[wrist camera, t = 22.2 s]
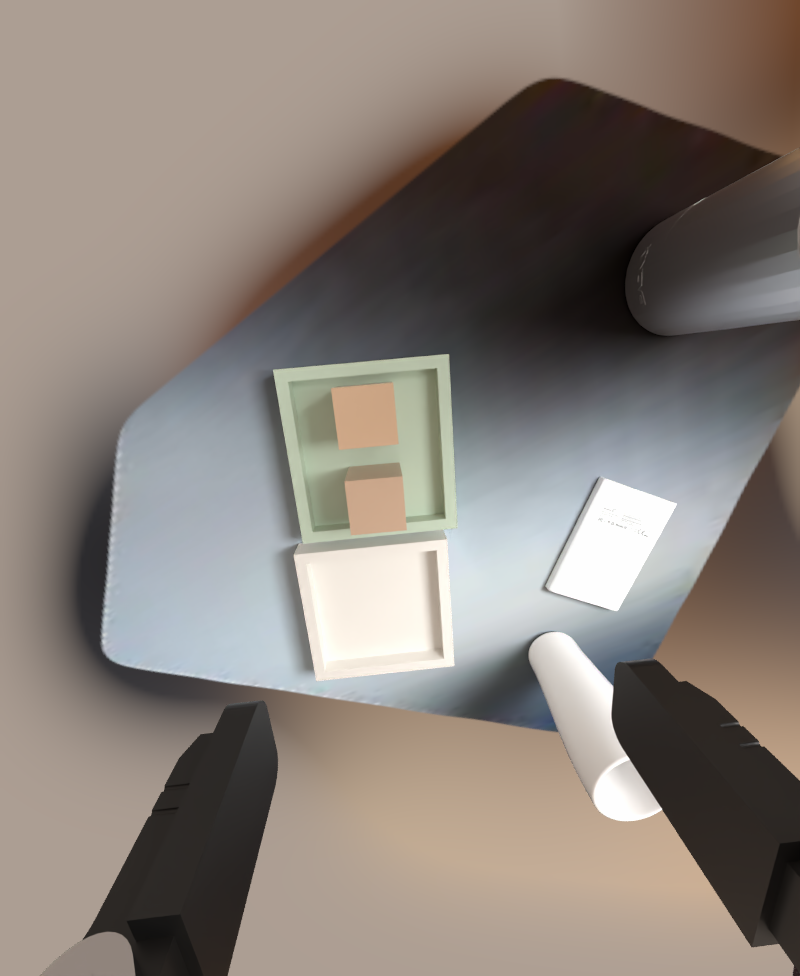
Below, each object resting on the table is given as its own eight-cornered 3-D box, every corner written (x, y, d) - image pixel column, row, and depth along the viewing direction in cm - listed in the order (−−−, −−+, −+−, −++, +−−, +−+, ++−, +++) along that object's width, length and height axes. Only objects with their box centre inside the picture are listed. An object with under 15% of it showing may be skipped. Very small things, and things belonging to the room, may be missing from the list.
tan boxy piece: (391, 381, 33) (393, 382, 28) (396, 434, 34) (398, 444, 29) (337, 386, 33) (330, 388, 28) (344, 439, 34) (339, 449, 29)
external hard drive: (542, 582, 41) (596, 474, 38) (610, 603, 42) (668, 500, 39) (548, 591, 40) (605, 478, 36) (618, 612, 41) (680, 505, 38)
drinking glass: (518, 677, 44) (587, 826, 29) (521, 625, 42) (596, 757, 27) (578, 673, 44) (675, 819, 29) (583, 621, 42) (690, 750, 28)
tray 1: (444, 355, 34) (448, 353, 31) (452, 518, 38) (457, 528, 35) (280, 370, 33) (272, 369, 31) (307, 532, 37) (302, 543, 35)
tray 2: (442, 528, 38) (447, 539, 36) (450, 649, 42) (454, 665, 40) (299, 543, 38) (293, 554, 35) (319, 663, 42) (316, 681, 39)
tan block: (399, 462, 35) (402, 476, 30) (403, 509, 36) (406, 530, 31) (349, 466, 35) (344, 481, 30) (354, 513, 36) (350, 535, 31)
